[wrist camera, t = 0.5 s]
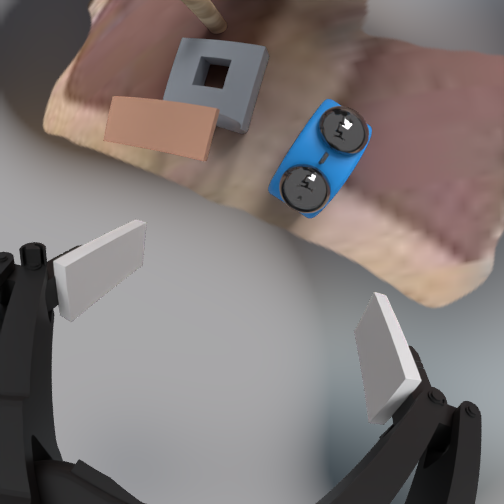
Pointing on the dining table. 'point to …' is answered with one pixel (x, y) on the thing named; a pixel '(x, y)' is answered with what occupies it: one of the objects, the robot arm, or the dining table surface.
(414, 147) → the dining table surface
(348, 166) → the alarm clock
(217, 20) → the peg
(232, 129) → the socket station
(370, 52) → the dining table surface
